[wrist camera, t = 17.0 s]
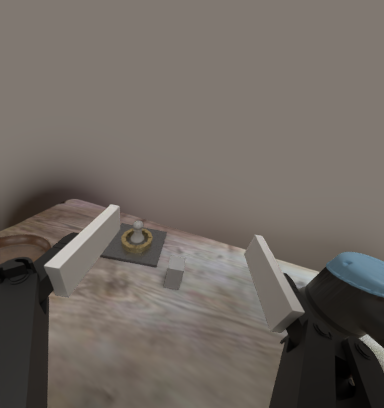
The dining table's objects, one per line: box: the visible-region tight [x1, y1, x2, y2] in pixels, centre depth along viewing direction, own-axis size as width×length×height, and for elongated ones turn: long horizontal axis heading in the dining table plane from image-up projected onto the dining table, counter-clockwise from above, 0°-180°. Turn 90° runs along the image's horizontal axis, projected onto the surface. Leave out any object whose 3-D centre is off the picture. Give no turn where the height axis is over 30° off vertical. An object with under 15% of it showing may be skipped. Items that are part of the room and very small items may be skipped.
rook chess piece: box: [130, 220, 144, 245], centre depth 47 cm, size 4×4×8 cm
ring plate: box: [100, 223, 167, 267], centre depth 49 cm, size 17×15×3 cm
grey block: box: [164, 255, 185, 290], centre depth 39 cm, size 4×4×8 cm
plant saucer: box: [0, 234, 52, 264], centre depth 34 cm, size 18×18×3 cm
